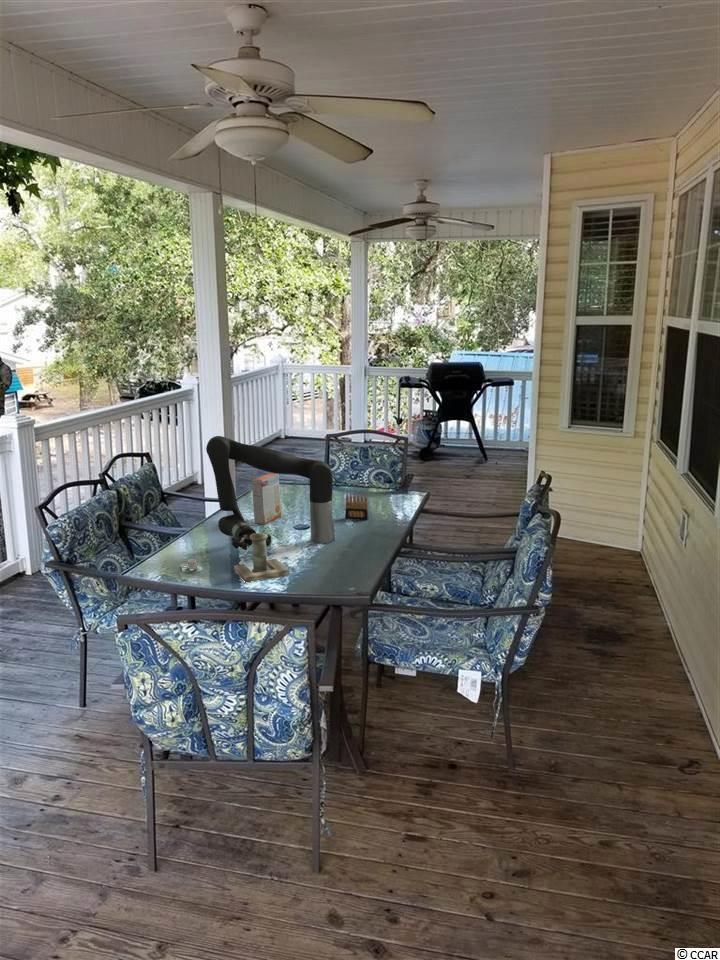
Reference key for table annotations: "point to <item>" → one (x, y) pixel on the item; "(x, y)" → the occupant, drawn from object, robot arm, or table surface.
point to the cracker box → (266, 498)
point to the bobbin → (259, 552)
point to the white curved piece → (190, 564)
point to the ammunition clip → (354, 512)
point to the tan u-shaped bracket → (272, 564)
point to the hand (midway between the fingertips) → (257, 545)
